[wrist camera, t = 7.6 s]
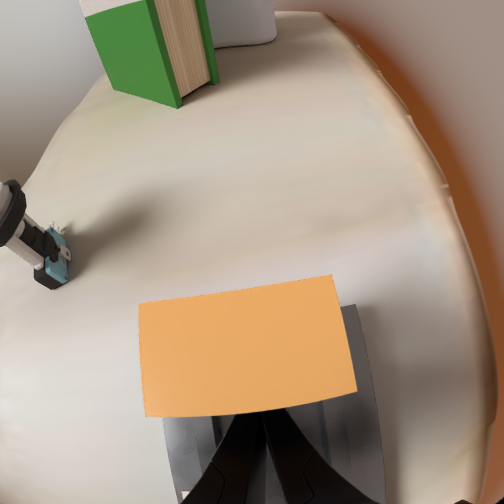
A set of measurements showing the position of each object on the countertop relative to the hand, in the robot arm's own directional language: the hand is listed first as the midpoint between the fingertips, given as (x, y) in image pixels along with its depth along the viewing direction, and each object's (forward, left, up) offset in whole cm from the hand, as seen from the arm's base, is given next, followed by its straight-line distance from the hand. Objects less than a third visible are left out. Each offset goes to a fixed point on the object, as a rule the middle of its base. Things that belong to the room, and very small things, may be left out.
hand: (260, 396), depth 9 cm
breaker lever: (+1, 0, -5) cm, 5 cm away
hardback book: (+39, +9, -7) cm, 41 cm away
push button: (+12, +17, -7) cm, 22 cm away
